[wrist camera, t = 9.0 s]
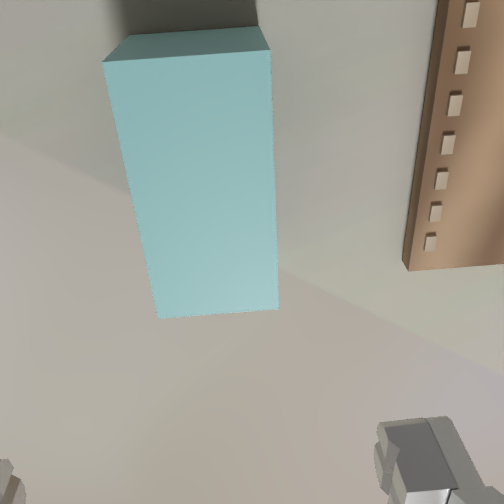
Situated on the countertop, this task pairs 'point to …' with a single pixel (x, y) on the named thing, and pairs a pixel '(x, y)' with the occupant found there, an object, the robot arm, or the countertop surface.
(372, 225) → the countertop surface
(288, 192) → the countertop surface
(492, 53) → the board
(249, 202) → the pale blue tall prism
